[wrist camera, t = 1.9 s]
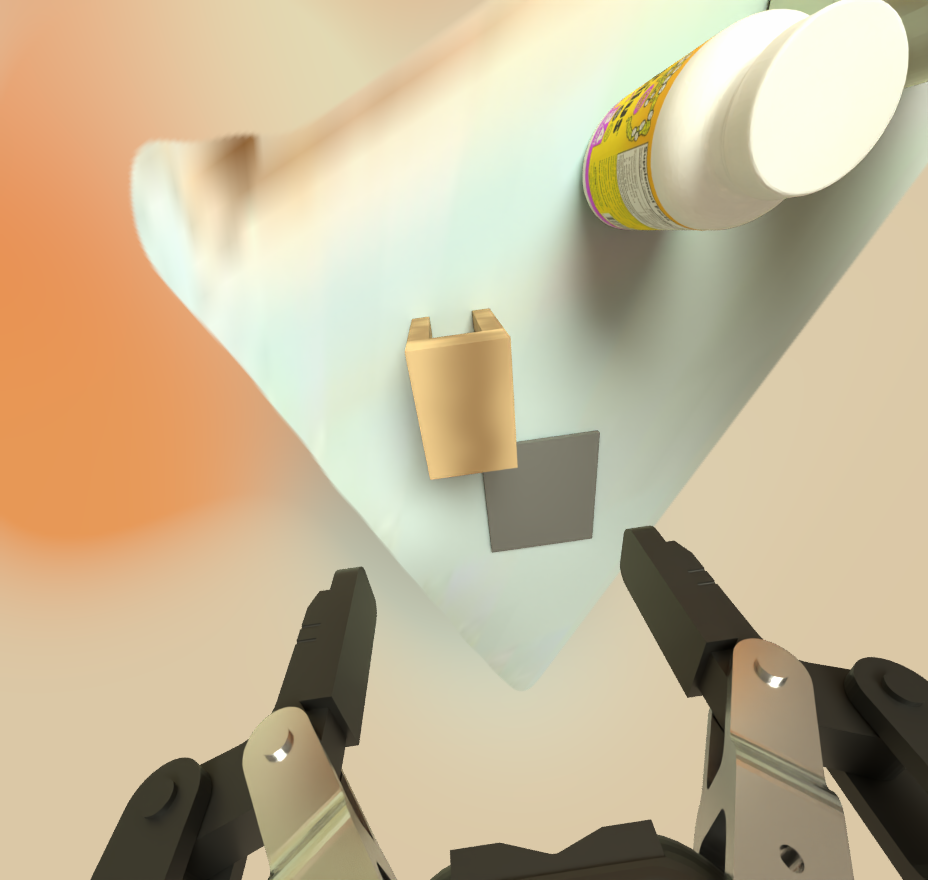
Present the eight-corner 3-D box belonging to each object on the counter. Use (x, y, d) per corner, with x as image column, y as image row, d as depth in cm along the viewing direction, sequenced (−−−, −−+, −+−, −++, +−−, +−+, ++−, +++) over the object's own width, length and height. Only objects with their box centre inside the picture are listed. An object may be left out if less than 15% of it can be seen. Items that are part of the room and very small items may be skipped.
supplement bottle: (676, 66, 20) (973, -133, 9) (696, 195, 23) (937, 163, 12) (562, 136, 21) (703, 34, 10) (596, 250, 25) (732, 267, 13)
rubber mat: (480, 447, 31) (480, 449, 31) (597, 430, 31) (599, 432, 31) (491, 549, 37) (492, 552, 37) (590, 535, 37) (592, 538, 37)
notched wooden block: (430, 421, 30) (430, 479, 23) (412, 319, 26) (404, 351, 19) (497, 412, 30) (517, 467, 23) (489, 308, 26) (510, 337, 19)
